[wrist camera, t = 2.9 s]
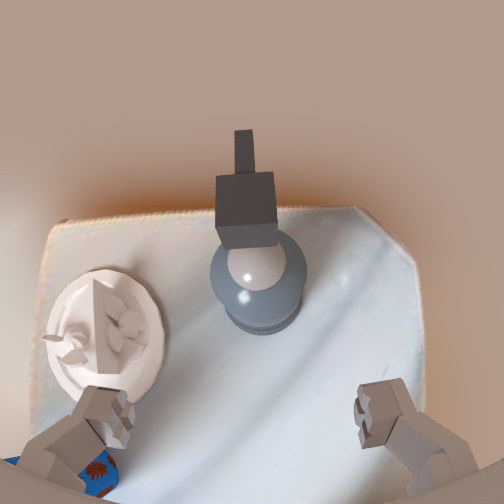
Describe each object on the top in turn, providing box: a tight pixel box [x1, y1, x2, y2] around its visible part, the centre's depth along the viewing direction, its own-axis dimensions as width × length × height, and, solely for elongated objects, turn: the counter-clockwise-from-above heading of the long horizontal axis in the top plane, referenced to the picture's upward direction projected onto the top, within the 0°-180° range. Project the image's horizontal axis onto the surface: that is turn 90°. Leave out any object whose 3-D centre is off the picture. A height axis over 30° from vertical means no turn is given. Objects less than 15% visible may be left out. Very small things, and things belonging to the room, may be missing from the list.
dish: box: [41, 269, 166, 404], centre depth 43 cm, size 25×25×11 cm
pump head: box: [215, 130, 278, 250], centre depth 24 cm, size 8×4×6 cm, turn 2°
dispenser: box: [210, 230, 307, 335], centre depth 40 cm, size 12×12×18 cm
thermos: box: [3, 451, 118, 498], centre depth 27 cm, size 11×11×25 cm
